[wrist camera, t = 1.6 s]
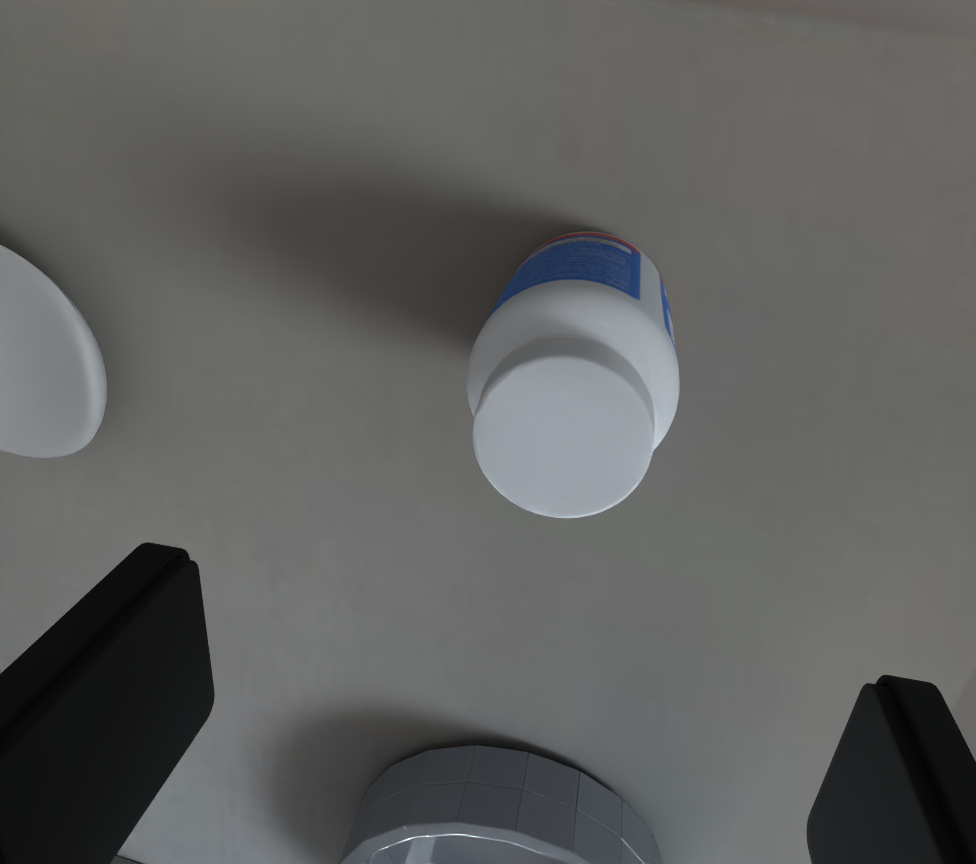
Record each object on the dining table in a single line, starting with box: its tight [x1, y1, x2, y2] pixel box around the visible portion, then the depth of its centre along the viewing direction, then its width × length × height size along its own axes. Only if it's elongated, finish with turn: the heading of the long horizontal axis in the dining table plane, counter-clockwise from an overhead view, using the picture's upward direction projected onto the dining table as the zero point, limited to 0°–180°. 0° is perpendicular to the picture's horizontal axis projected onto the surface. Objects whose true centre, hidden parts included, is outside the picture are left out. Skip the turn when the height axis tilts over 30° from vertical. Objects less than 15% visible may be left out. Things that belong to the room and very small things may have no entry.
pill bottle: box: [466, 231, 679, 518], centre depth 20 cm, size 6×5×10 cm
